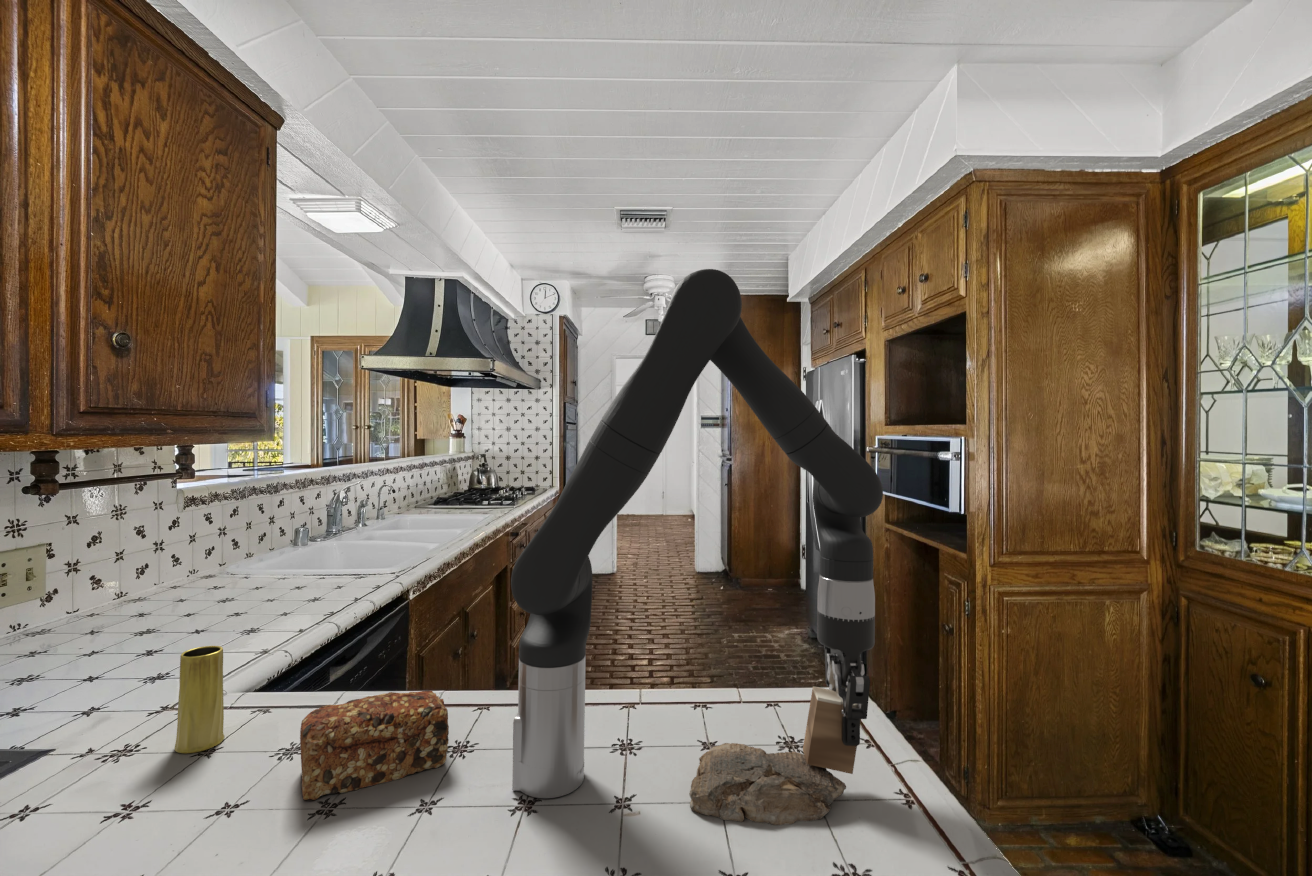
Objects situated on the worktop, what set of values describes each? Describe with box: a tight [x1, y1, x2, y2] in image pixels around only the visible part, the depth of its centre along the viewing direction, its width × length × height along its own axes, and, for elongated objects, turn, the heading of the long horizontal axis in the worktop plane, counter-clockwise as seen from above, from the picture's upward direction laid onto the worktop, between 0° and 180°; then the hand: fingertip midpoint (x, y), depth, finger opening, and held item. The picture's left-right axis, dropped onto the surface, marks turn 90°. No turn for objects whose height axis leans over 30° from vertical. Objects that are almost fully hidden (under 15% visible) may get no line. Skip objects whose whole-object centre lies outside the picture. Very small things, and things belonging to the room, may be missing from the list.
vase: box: [174, 645, 225, 755], centre depth 91 cm, size 6×6×14 cm
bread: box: [299, 689, 450, 801], centre depth 85 cm, size 19×11×10 cm, turn 121°
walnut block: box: [802, 686, 862, 775], centre depth 81 cm, size 4×6×9 cm, turn 85°
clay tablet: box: [688, 742, 847, 826], centre depth 79 cm, size 14×5×20 cm
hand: (844, 733), depth 80 cm, fingers open, 5 cm apart
